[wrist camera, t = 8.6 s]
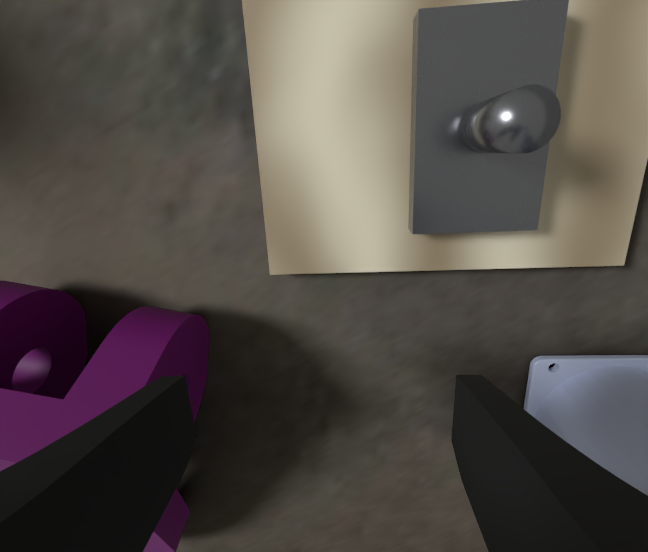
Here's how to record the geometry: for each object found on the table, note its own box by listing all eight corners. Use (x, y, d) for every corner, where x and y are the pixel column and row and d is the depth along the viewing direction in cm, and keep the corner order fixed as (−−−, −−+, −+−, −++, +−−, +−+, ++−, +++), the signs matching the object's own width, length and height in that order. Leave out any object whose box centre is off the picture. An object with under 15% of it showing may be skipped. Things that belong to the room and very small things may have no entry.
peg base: (551, 9, 13) (656, -66, 9) (524, 224, 16) (594, 254, 11) (413, 20, 14) (444, -46, 9) (408, 228, 16) (431, 258, 12)
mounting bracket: (227, 433, 30) (200, 281, 17) (186, 563, 24) (98, 477, 11) (113, 412, 30) (3, 246, 17) (44, 536, 24) (-204, 421, 11)
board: (741, -388, 11) (791, -457, 10) (609, 259, 17) (628, 267, 16) (218, -305, 12) (203, -356, 11) (274, 268, 19) (268, 276, 17)
